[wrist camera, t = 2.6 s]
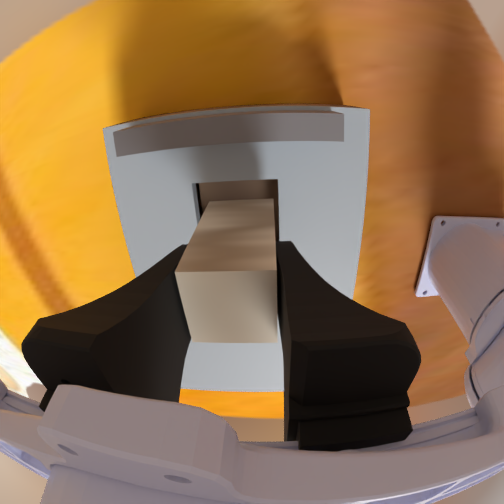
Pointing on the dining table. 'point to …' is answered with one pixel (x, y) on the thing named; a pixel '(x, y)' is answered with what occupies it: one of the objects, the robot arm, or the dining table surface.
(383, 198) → the dining table surface
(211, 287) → the wooden block
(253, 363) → the toolbox lid
